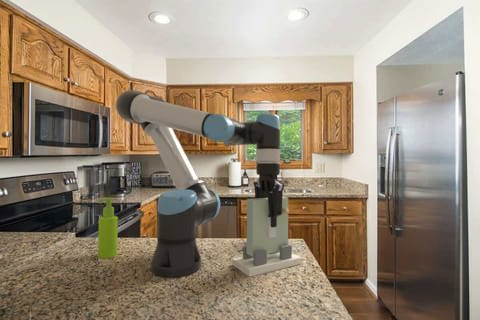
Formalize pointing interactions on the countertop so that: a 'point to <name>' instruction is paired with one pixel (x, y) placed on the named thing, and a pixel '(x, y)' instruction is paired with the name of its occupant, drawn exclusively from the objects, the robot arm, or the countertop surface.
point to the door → (265, 226)
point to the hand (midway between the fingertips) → (267, 235)
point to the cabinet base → (266, 261)
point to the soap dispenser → (107, 231)
